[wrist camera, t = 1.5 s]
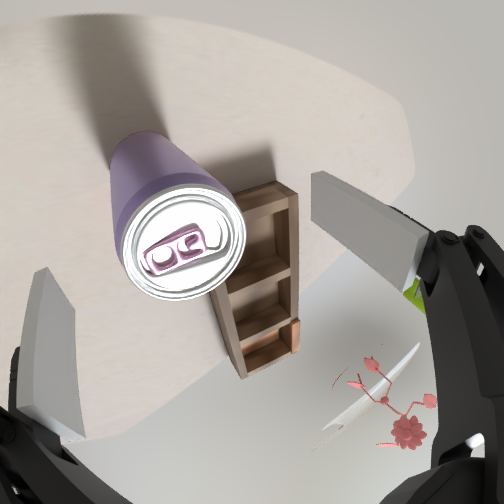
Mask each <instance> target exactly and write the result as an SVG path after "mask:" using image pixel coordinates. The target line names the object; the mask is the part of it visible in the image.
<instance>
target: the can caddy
mask: <svg viewBox="0 0 504 504" xmlns="http://www.w3.org/2000/svg"><path fill="white" fill-rule="evenodd" d="M232 196H233V198H234V199H235V201H236V204H237V206H238V207H239V208H240V210H241V212H242V214H243V217H244V220H245V224H246V244H245V248H244V251H243V254H242V257H241V259H240V261H239V263H238V264H237V266H236V267H235V269H234V270H233V272H232V273H231V274H230V275H229V276H228V277H227V278H226V279H225V280H224V281H223V282H222V283H221V284H219V285H218V286H217V287H215V288H214V289H212V290H211V291H209V292H210V296H211V299H212V303H213V306H214V309H215V313H216V316H217V319H218V322H219V326H220V329H221V332H222V335H223V338H224V341H225V345H226V348H227V351H228V354H229V357H230V360H231V362H232V364H233V365H234V367H235V369H236V371H237V372H238V374H239V376H240V378H241V379H244V378H246V377H248V376H250V375H252V374H255V373H257V372H258V371H261V370H263V369H265V368H267V367H269V366H271V365H273V364H275V363H276V362H279V361H280V360H282V359H284V358H286V357H288V356H290V355H291V354H294V353H295V352H297V351H298V350H299V339H300V320H299V319H298V300H299V299H298V298H299V208H298V193H296V192H294V191H293V190H291V189H290V188H288V187H286V186H285V185H283V184H282V183H280V182H278V181H274V182H271V183H267V184H264V185H261V186H257V187H254V188H251V189H248V190H244V191H241V192H238V193H235V194H232Z"/></svg>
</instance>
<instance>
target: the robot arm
mask: <svg viewBox="0 0 504 504" xmlns="http://www.w3.org/2000/svg"><path fill="white" fill-rule="evenodd" d="M311 221H313V222H314V223H315V224H317V225H318V226H319V227H321V228H322V229H323V230H325V231H326V232H327V233H329V234H330V235H331V236H332V237H334V238H335V239H336V240H338V241H339V242H340V243H341V244H343V245H344V246H345V247H347V248H348V249H349V250H350V251H352V252H353V253H354V254H355V255H357V256H358V257H359V258H361V259H362V260H363V261H364V262H365V263H367V264H368V265H369V266H370V267H372V268H373V269H374V270H375V271H376V272H378V273H379V274H380V275H381V276H382V277H384V278H385V279H386V280H387V281H388V282H390V283H391V284H392V285H393V286H394V287H396V288H397V289H398V290H399V291H400V292H404V291H405V290H407V289H408V288H409V287H411V286H412V285H413V282H414V279H415V276H416V274H417V275H418V276H419V277H421V279H420V281H419V284H418V287H417V289H416V292H415V298H417V296H418V294H419V292H420V291H421V296H420V298H422V299H423V303H424V308H425V313H426V317H427V323H428V328H429V334H430V340H431V346H432V353H433V360H434V368H435V377H436V388H437V401H438V422H439V427H438V432H437V434H436V436H435V438H434V441H433V445H432V453H431V454H432V455H431V469H430V470H428V471H426V472H423V473H421V474H418V475H416V476H413V477H410V478H408V479H407V480H405V481H404V482H403V483H402V484H401V485H399V486H398V487H397V488H396V489H394V490H393V491H392V492H391V493H389V494H388V495H387V496H386V497H385V498H384V499H383V500H382V501H381V502H380V504H504V251H503V250H502V249H501V248H500V246H499V245H498V244H497V243H496V242H495V240H494V239H493V238H492V237H491V236H490V235H489V234H488V233H487V232H486V231H485V230H484V229H483V228H481V227H480V226H476V225H469V226H468V227H467V229H466V232H465V235H464V236H459V237H458V236H457V235H455V234H454V233H452V232H450V231H445V230H440V231H437V232H436V233H434V232H433V231H431V230H430V229H428V228H427V227H425V226H424V225H422V224H420V223H419V222H417V221H416V220H414V219H413V218H410V217H409V216H408V215H406V214H403V212H401V211H399V210H398V209H396V208H394V207H392V206H389V205H386V204H384V203H382V202H380V201H379V200H377V199H375V198H373V197H372V196H370V195H368V194H366V193H365V192H363V191H361V190H359V189H357V188H355V187H354V186H352V185H350V184H348V183H346V182H344V181H342V180H340V179H338V178H336V177H335V176H333V175H331V174H329V173H327V172H325V171H320V172H316V173H312V174H311ZM480 263H482V264H483V266H484V269H483V271H482V273H481V275H480V276H479V275H478V274H477V270H478V268H479V265H480ZM10 371H11V373H10V383H9V400H8V411H6V410H5V409H4V408H2V407H1V406H0V504H132V503H131V502H130V501H128V500H127V499H126V498H124V497H123V496H121V495H120V494H119V493H117V492H116V491H115V490H113V489H112V488H111V487H109V486H108V485H107V484H106V483H104V482H103V481H102V480H101V479H100V478H98V477H97V476H96V475H95V474H93V473H92V472H91V471H90V470H89V469H88V468H87V467H85V466H84V465H83V464H82V463H81V462H80V461H79V460H78V459H77V458H76V457H75V456H74V455H73V454H72V453H70V452H69V450H68V449H67V448H65V447H64V446H62V445H61V443H60V437H62V438H64V439H65V440H67V441H69V442H71V441H76V440H80V439H85V438H86V437H85V431H84V426H83V420H82V413H81V406H80V398H79V389H78V379H77V365H76V345H75V309H74V308H73V306H72V305H71V303H70V302H69V300H68V299H67V297H66V296H65V294H64V293H63V291H62V290H61V288H60V286H59V285H58V283H57V282H56V280H55V278H54V277H53V275H52V273H51V272H50V270H49V268H48V267H46V268H44V269H42V270H39V271H37V272H35V273H34V277H33V281H32V285H31V289H30V294H29V298H28V303H27V308H26V313H25V319H24V324H23V331H22V337H21V345H20V347H17V348H16V349H15V352H14V354H13V357H12V359H11V369H10ZM483 442H485V458H479V457H470V456H471V452H472V450H473V449H474V448H475V447H476V446H478V445H479V444H481V443H483ZM12 487H14V488H16V490H17V493H18V494H15V492H14V490H13V488H12Z"/></svg>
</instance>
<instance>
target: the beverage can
mask: <svg viewBox="0 0 504 504" xmlns="http://www.w3.org/2000/svg"><path fill="white" fill-rule="evenodd" d="M110 183H111V203H112V217H113V229H114V239H115V247H116V252H117V255H118V258H119V260H120V262H121V264H122V266H123V267H124V270H125V272H126V274H127V276H128V277H129V279H130V280H131V282H132V283H133V284H134V285H135V286H136V287H137V288H138V289H140V290H141V291H142V292H144V293H146V294H148V295H150V296H152V297H155V298H158V299H162V300H170V301H178V300H186V299H191V298H194V297H197V296H200V295H203V294H205V293H207V292H209V291H211V290H212V289H214V288H215V287H217V286H218V285H219V284H221V283H222V282H223V281H224V280H225V279H226V278H227V277H228V276H229V275H230V274H231V273H232V272H233V270H234V269H235V267H236V266H237V264H238V263H239V261H240V259H241V257H242V254H243V251H244V248H245V244H246V224H245V220H244V217H243V214H242V212H241V210H240V208H239V207H238V206H237V204H236V201H235V199H234V198H233V196H232V194H231V193H230V192H229V191H228V189H227V188H225V187H224V186H223V185H222V184H221V183H220V182H219V181H217V180H216V179H215V178H214V177H213V176H212V175H210V174H209V173H208V172H207V171H206V170H204V169H203V168H202V167H201V166H200V165H199V164H197V163H196V162H195V161H194V160H193V159H191V158H190V157H189V156H188V155H187V154H185V153H184V152H183V151H182V150H180V149H179V148H178V147H177V146H176V145H174V144H173V143H172V142H171V141H170V140H168V139H167V138H166V137H164V136H163V135H161V134H159V133H156V132H152V131H141V132H137V133H134V134H132V135H130V136H128V137H126V138H125V139H124V140H122V141H121V142H120V143H119V145H118V146H117V147H116V149H115V151H114V152H113V155H112V158H111V162H110Z"/></svg>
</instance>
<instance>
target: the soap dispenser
mask: <svg viewBox="0 0 504 504" xmlns="http://www.w3.org/2000/svg"><path fill="white" fill-rule="evenodd" d="M419 281H420V280H418V279H417V278H415V279H414V282H413V285H412V286H411V287H409V288H408V289H407V290H405V291H404V293H403V295H404V296H405V297H406V298H407V299H408V300H409V301H411V302H412V303H413V304H414V305H415V306H416V307H418V308H419V309H420V310H421V311H422V312H423V313H424V314H426V313H425V308H424V303H423V299H422V298H420V296H421V291H420V292H419V294H418V296H417V298H415V292H416V289H417V287H418V284H419Z"/></svg>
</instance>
